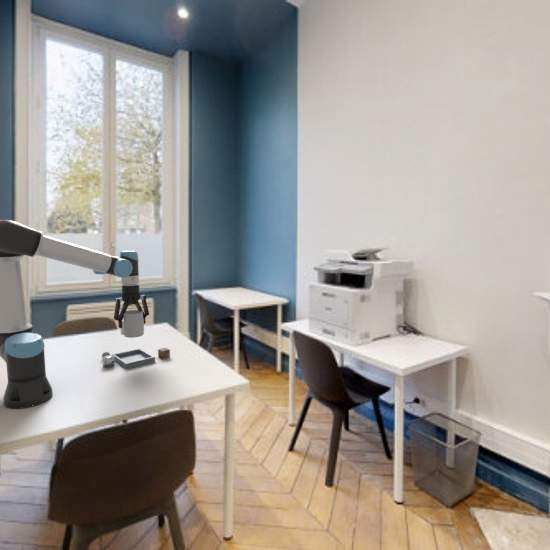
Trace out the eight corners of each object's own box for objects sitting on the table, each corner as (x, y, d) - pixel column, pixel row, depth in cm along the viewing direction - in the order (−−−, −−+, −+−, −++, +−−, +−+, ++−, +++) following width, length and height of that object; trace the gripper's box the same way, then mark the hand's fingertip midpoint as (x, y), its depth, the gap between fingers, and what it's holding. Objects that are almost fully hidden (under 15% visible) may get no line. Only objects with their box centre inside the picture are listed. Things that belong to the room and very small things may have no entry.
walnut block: (162, 359, 186) (162, 351, 185) (158, 357, 189) (158, 349, 188) (169, 357, 188) (169, 349, 188) (166, 355, 191) (165, 347, 191)
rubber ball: (103, 361, 182) (103, 353, 182) (100, 359, 185) (100, 351, 184) (111, 359, 185) (111, 352, 184) (108, 357, 187) (108, 350, 187)
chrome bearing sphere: (104, 368, 173) (104, 359, 173) (101, 365, 177) (100, 357, 177) (116, 365, 177) (115, 357, 176) (112, 363, 180) (111, 354, 180)
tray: (125, 369, 173) (125, 363, 173) (112, 359, 185) (112, 354, 185) (155, 361, 182) (154, 357, 182) (140, 353, 194) (139, 348, 194)
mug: (144, 336, 178) (143, 313, 177) (124, 338, 175) (122, 314, 174) (143, 329, 189) (142, 307, 188) (124, 331, 186) (123, 309, 185)
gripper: (109, 288, 169) (112, 338, 172) (156, 283, 183) (157, 330, 186) (103, 285, 175) (106, 335, 178) (149, 281, 189) (150, 327, 192)
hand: (132, 332), depth 182 cm, fingers closed on mug, 8 cm apart
